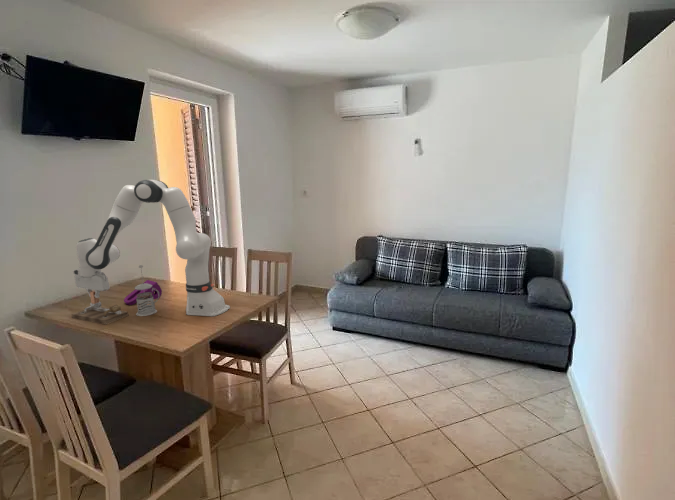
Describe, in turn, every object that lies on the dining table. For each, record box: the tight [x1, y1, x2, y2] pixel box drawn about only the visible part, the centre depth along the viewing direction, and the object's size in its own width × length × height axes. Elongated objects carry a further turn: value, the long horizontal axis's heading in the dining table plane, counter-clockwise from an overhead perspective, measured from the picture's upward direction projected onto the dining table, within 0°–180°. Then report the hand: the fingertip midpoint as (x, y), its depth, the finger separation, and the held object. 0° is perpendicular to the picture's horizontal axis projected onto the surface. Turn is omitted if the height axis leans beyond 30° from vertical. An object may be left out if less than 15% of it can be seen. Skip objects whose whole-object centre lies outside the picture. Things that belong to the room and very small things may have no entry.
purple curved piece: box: [123, 279, 163, 306], centre depth 213 cm, size 10×8×18 cm
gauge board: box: [71, 304, 129, 325], centre depth 189 cm, size 24×12×6 cm, turn 68°
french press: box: [134, 264, 160, 317], centre depth 192 cm, size 10×12×25 cm
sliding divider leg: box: [84, 290, 102, 313], centre depth 191 cm, size 3×8×9 cm, turn 158°
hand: (94, 297), depth 192 cm, fingers closed on sliding divider leg, 2 cm apart
